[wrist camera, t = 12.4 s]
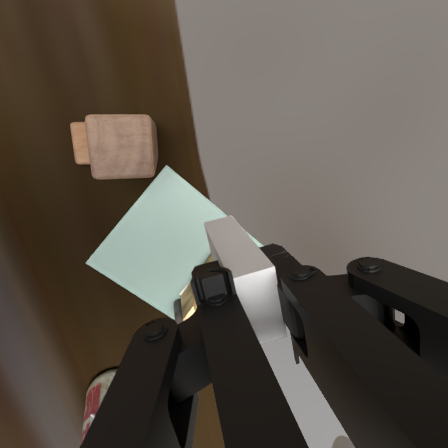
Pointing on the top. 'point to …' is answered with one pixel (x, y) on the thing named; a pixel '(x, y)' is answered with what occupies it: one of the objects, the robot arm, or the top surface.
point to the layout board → (159, 241)
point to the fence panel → (190, 299)
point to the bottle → (96, 397)
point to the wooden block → (116, 145)
